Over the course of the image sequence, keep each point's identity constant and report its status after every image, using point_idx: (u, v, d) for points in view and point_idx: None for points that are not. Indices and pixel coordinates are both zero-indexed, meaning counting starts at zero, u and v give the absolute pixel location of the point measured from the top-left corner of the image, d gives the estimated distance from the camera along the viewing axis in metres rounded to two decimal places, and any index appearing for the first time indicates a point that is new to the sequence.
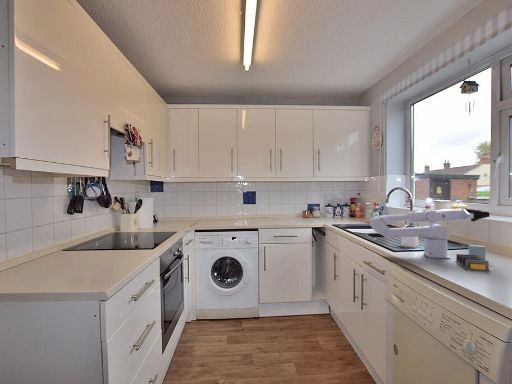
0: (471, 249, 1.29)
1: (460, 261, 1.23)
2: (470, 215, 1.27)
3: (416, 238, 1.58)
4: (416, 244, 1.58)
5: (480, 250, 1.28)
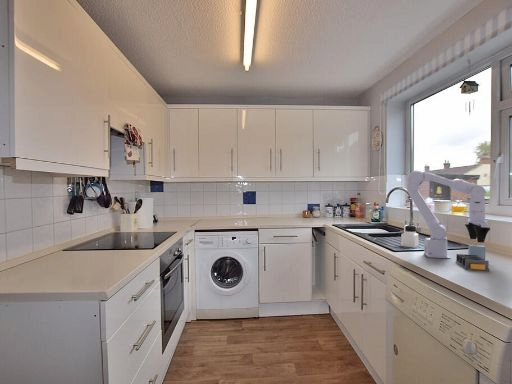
0: (471, 249, 1.29)
1: (460, 261, 1.23)
2: (485, 224, 1.21)
3: (416, 238, 1.58)
4: (416, 244, 1.58)
5: (480, 250, 1.28)
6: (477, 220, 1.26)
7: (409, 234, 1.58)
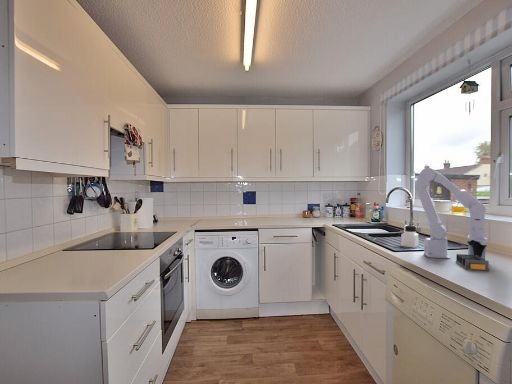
0: (471, 249, 1.29)
1: (460, 261, 1.23)
2: (485, 242, 1.22)
3: (416, 238, 1.58)
4: (416, 244, 1.58)
5: None
6: (477, 237, 1.26)
7: (409, 234, 1.58)
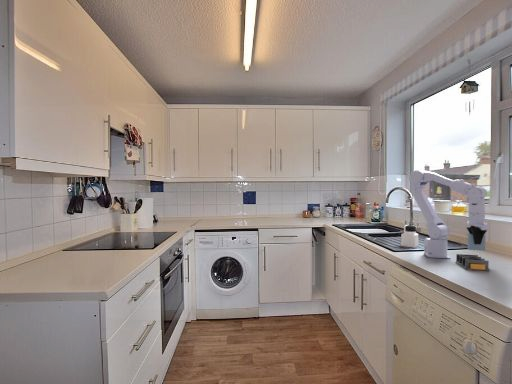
0: (471, 237, 1.25)
1: (460, 261, 1.23)
2: (485, 227, 1.17)
3: (416, 238, 1.58)
4: (416, 244, 1.58)
5: None
6: (477, 222, 1.22)
7: (409, 234, 1.58)
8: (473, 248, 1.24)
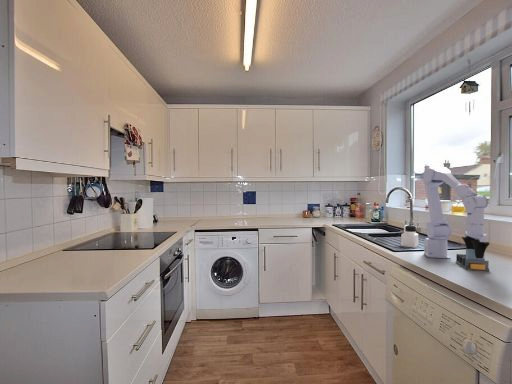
0: (469, 253, 1.17)
1: (460, 261, 1.23)
2: (484, 239, 1.10)
3: (416, 238, 1.58)
4: (416, 244, 1.58)
5: None
6: (475, 234, 1.15)
7: (409, 234, 1.58)
8: None
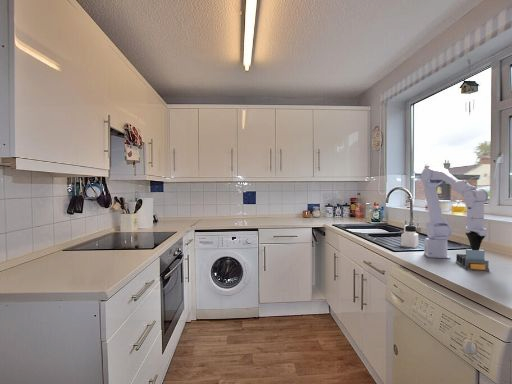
0: (469, 253, 1.17)
1: (460, 261, 1.23)
2: (484, 232, 1.10)
3: (416, 238, 1.58)
4: (416, 244, 1.58)
5: (479, 254, 1.16)
6: (475, 228, 1.15)
7: (409, 234, 1.58)
8: None
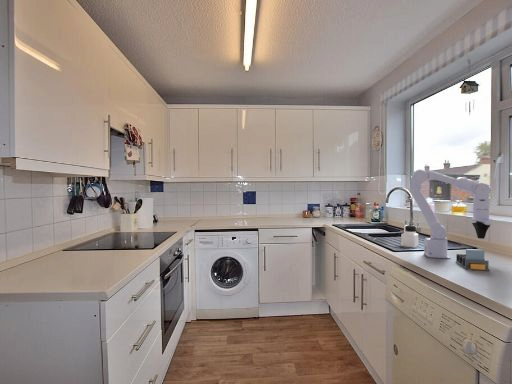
0: (469, 253, 1.17)
1: (460, 261, 1.23)
2: (489, 222, 1.22)
3: (416, 238, 1.58)
4: (416, 244, 1.58)
5: (479, 254, 1.16)
6: (481, 218, 1.26)
7: (409, 234, 1.58)
8: None
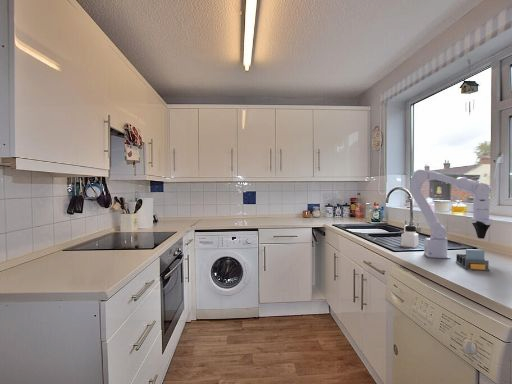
0: (469, 253, 1.17)
1: (460, 261, 1.23)
2: (490, 222, 1.22)
3: (416, 238, 1.58)
4: (416, 244, 1.58)
5: (479, 254, 1.16)
6: (481, 218, 1.27)
7: (409, 234, 1.58)
8: None
